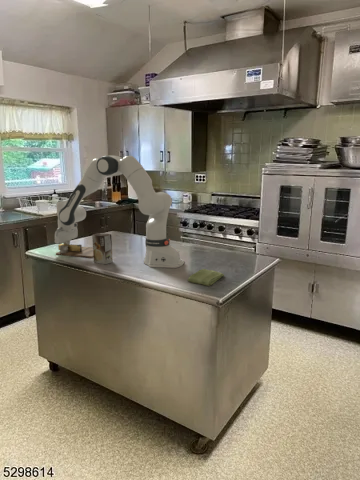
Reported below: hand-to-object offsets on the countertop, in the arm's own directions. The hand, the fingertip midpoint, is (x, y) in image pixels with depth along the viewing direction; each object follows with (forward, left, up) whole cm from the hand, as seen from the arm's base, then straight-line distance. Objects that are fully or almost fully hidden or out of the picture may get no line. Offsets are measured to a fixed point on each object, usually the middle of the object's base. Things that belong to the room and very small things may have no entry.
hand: (67, 247), depth 223 cm
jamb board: (-10, +1, -2) cm, 11 cm away
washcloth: (-93, +25, -3) cm, 97 cm away
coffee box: (-32, +15, -2) cm, 36 cm away
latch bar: (-4, +3, -1) cm, 5 cm away
